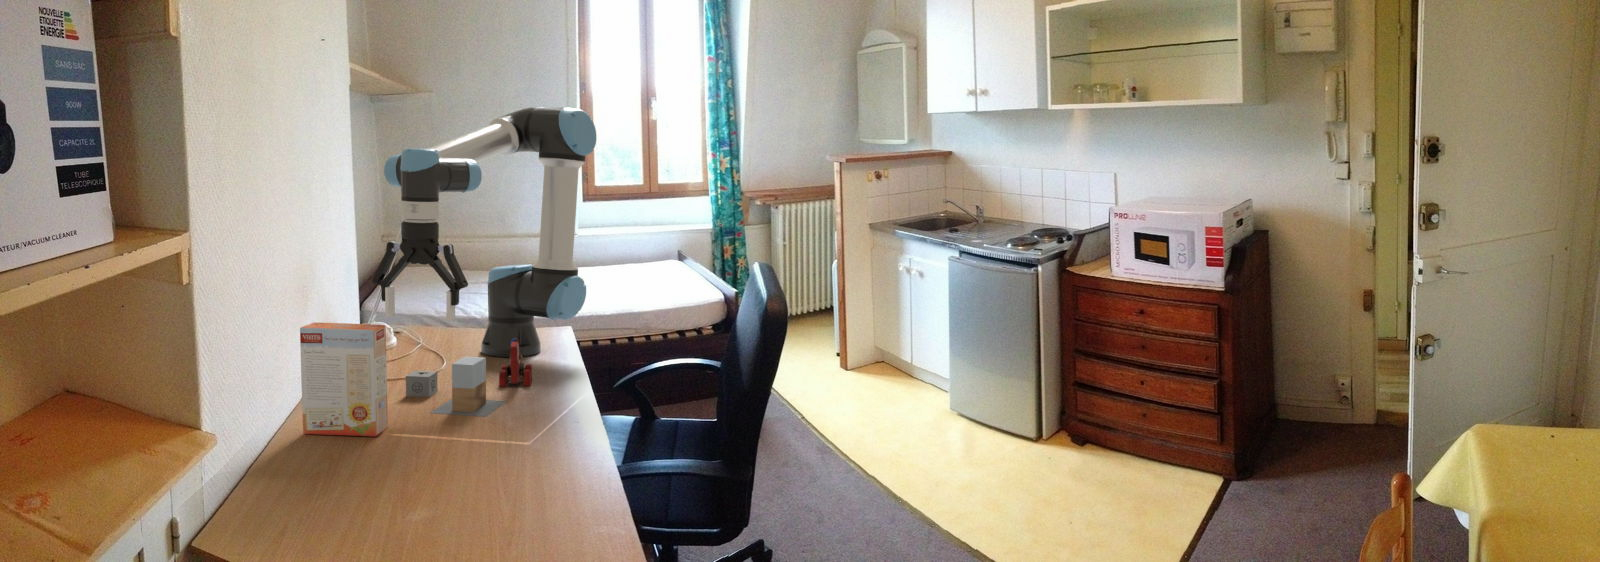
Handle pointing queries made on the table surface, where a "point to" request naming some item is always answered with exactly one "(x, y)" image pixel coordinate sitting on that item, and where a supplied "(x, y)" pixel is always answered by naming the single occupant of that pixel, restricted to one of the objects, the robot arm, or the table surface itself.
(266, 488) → the table surface
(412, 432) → the table surface
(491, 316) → the robot arm
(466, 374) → the tower mid
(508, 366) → the toy fire truck
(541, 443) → the table surface
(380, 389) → the cracker box
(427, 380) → the dice cube
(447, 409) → the mat
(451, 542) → the table surface
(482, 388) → the tower base
